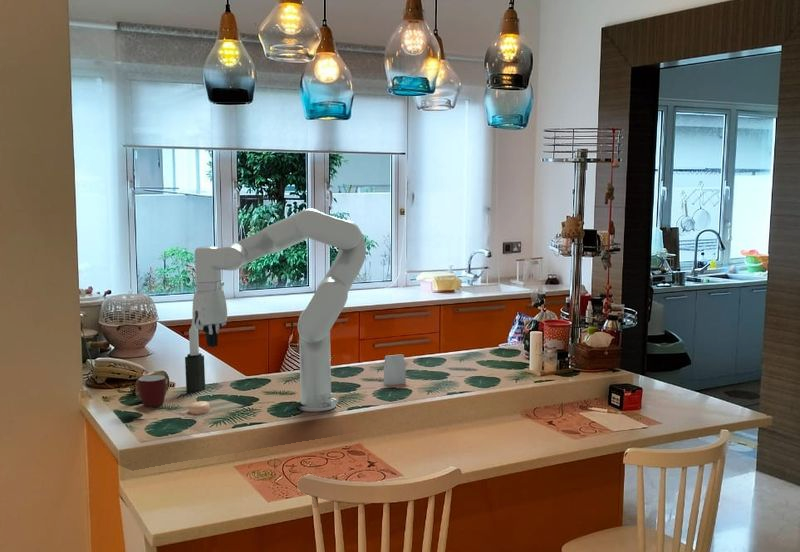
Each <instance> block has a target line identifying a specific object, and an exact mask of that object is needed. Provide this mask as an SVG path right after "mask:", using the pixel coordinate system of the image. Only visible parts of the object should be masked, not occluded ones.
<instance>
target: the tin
mask: <svg viewBox="0 0 800 552" xmlns="http://www.w3.org/2000/svg"><path fill="white" fill-rule="evenodd" d="M151 375H161V376H165V377H166V390H165V395H166V394H167V393H168V391H169V388H170V377H169V375H168V373H167V372H166V371H165V370H154V371H152V372H149V373H147V374H144V375H140V376H139V377H138V378H137V380H136V381H135V382H134V383H135V384H134V393H135V397H136V399H137V400H139V401H141V402H142V399H141V394H140V390H139V378H141V377H145V376H151Z"/></svg>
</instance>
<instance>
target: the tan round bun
mask: <svg viewBox="0 0 800 552" xmlns="http://www.w3.org/2000/svg"><path fill="white" fill-rule="evenodd" d="M188 406H189V409H188V411H189V412H188V413H190V414H192V415H194V414H196V415H200V414H204V413H208V412H211V409H210V407H209V402H208V401H205V400H199V401H195V402H192V403H191V404H189V405H188Z"/></svg>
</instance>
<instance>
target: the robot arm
mask: <svg viewBox="0 0 800 552" xmlns="http://www.w3.org/2000/svg"><path fill="white" fill-rule="evenodd" d="M308 239H310V240H313V241H316V242H319V243H322V244H324V245H328V246H331V247H335V248H338V251H337V255H336V256H335V259H334V260H333V262H332V264H331V266H330V268H329V269H328V271H327V273H326V274H325V276H324V277H323V279H322V280H321V281H320V283H319V284H318V286H317V288H316V290H315V292H314V294H313V296H312V298H311V300H310V301H309V302H308V304H307V306H306V308H305V309H303V310H302V311H301V313H300V315H299V317H298V322H297V332H298V334H299V337H298V339H299V342H298V344H299V381H300V382H299V383H300V385H299V386H300V388H299V389H300V404H301V405H300V406H299V405H298V406H296V407H295V408H296V409H297V410H299V411H301V412H302V411H303V412H311V413H313V412H314V413H315V412H318V413H319V412H325V411H326V412H327V411H329V410H332V409H335V408H336V406H337V404H338V403H339V399H338V398H334V392H332V380H331V379H332V378H331V377H332V376H331V375H332V373H331V370H332V369H331V368H332V367H331V330H332V328H333V327H334V324H335V322H336V321H337V320H338V317H339V316H340V315H341V313H342V311H343V309H344V308H345V305H346V303H347V301H348V295H349V292H350V290H351V288H352V286H353V285H354V282H355V281H356V278H357V277H358V275H359V274H360V271H361V270H362V268H363V265H364V263H365V259H366V253H367V246H366V241H365V238H364V234H363V232H362V231H361V229H360V227H359V226H358V225H357V224H356V223H355V222H353V220H349V219H341V218H339V217H335V216H332V215H330V214H325V213H324V212H321V211H319V210H318V209H315V208H310V207H309V208H305V209H302V210H301V211H298V212H296V213H294V214H291V215H290V216H287V217H285V218H283V219H281V220H278V221H276V222H274V223H272V224H270V225H267V226H265V227H264V228H262V229H261V230H259V231H258V232H256V233H254V234H251V235H249V236H247V237H245V238H242V239H241V240H238V241H236V242H234V243H232V244H228V245H227V246H223V247H217V246H211V245H210V246H200V247H199V246H198V247H196V248H195V250H194V270H195V282H196V283H195V285H196V286H195V287H196V292H194V293H193V299H192V320H193V323H194V324H195V326H196V329H198V331H202V332H203V333H204V334H205V335H206V338H205V340H206V345H207V347H210V348H216V347H218V346H219V345H218V341H219V339H218V334H219V333H220V329H221V328H222V327H224V326H227V323H228V322H227V319H228V308H227V299H226V296H225V292H224V290H223V286H225V282H224V281H222V271H230V272H231V271H237V270H238V269H240V268H242V267H243V266H245V265H247V264H249V263H251V262H254V261H255V260H258V259H260V258H262V257H264V256H267V255H269V254H275V253H279V252H282V251H284V250H286V249H288V248H291V247H292V246H295V245H297V244H299V243H301V242H304V241H306V240H308Z"/></svg>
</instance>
